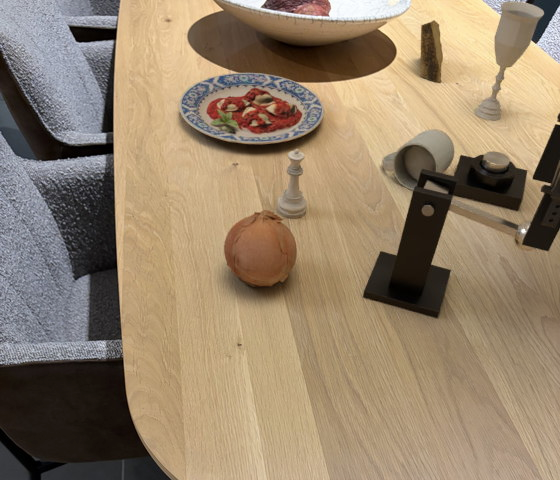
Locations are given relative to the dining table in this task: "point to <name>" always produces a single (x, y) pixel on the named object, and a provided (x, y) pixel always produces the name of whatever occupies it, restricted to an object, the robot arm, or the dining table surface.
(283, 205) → the chess piece
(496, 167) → the push button
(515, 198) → the push button base
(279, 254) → the onion
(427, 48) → the rock
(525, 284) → the dining table surface
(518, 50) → the chalice
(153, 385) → the dining table surface
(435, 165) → the ceramic mug
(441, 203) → the lever bracket
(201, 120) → the ceramic plate
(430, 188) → the flush lever
